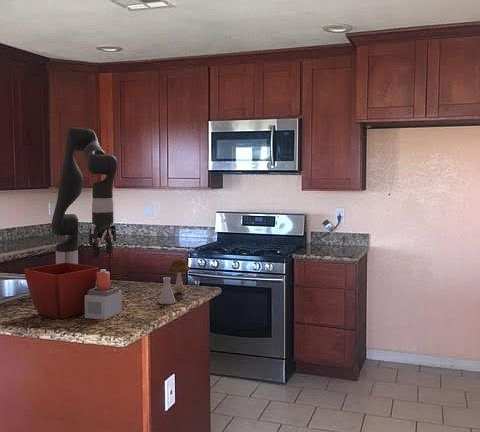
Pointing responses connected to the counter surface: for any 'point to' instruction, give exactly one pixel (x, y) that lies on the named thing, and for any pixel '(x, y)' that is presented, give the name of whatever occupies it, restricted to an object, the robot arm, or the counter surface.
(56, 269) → the plant pot
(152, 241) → the counter surface
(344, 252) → the counter surface
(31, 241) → the counter surface
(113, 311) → the grey box device
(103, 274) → the pink cylinder white tip
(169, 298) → the flask
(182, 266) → the mushroom
